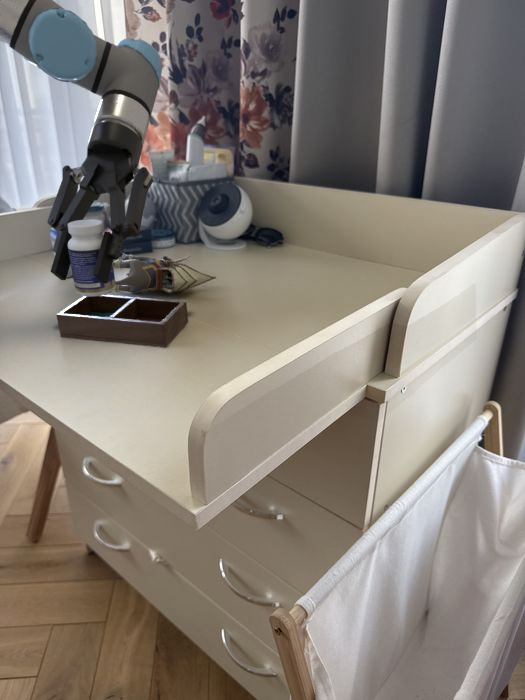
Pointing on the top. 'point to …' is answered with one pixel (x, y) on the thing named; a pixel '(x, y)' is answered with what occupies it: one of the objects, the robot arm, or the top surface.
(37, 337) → the top surface
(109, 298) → the tray
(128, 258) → the figurine
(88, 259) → the pill bottle
